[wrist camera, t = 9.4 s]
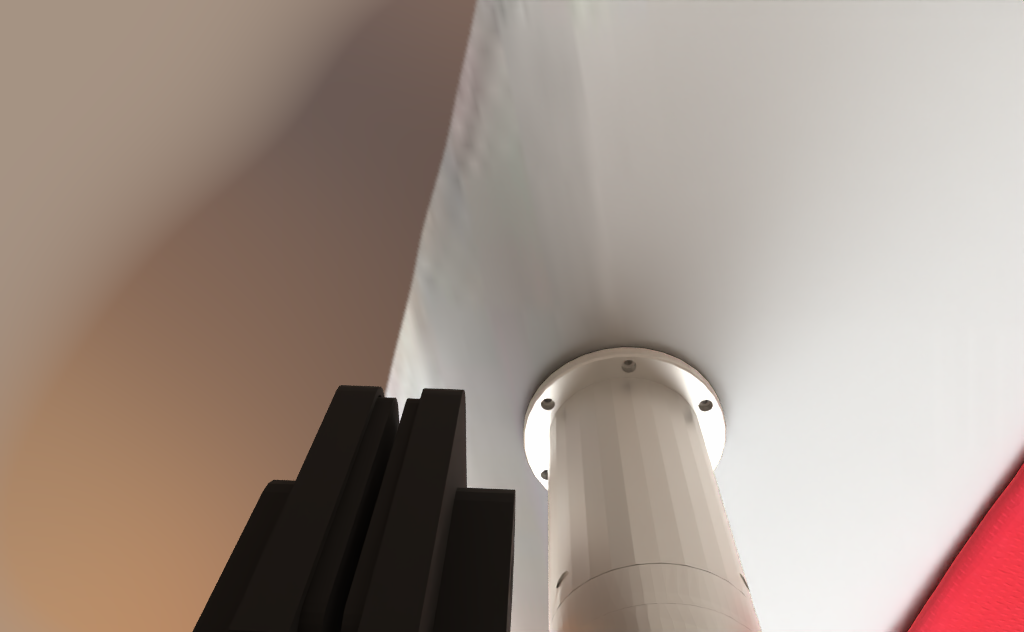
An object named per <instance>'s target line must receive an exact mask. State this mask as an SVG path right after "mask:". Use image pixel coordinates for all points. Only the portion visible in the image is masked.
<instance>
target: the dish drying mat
mask: <svg viewBox="0 0 1024 632" xmlns="http://www.w3.org/2000/svg"><path fill="white" fill-rule="evenodd" d="M908 632H1024V463H1023V465H1022V466H1021V468H1020V469H1019V471H1018V472H1017V474H1016V475H1015V477H1014V478H1013V479H1012V481H1011V482H1010V483H1009V485H1008V486H1007V487H1006V489H1005V490H1004V491H1003V493H1002V494H1001V495H1000V497H999V498H998V499H997V500H996V502H995V503H994V504H993V506H992V507H991V508H990V510H989V511H988V512H987V514H986V515H985V517H984V518H983V520H982V521H981V523H980V524H979V525H978V527H977V528H976V530H975V531H974V533H973V534H972V536H971V537H970V538H969V540H968V541H967V543H966V544H965V545H964V547H963V548H962V550H961V551H960V552H959V554H958V555H957V557H956V558H955V560H954V561H953V563H952V564H951V566H950V567H949V569H948V570H947V572H946V574H945V575H944V577H943V578H942V580H941V581H940V583H939V584H938V586H937V588H936V589H935V591H934V592H933V593H932V595H931V596H930V598H929V599H928V601H927V602H926V604H925V605H924V607H923V608H922V610H921V612H920V613H919V615H918V616H917V618H916V619H915V621H914V622H913V624H912V625H911V627H910V629H909V630H908Z"/></svg>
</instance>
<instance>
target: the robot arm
mask: <svg viewBox="0 0 1024 632" xmlns="http://www.w3.org/2000/svg"><path fill="white" fill-rule="evenodd" d="M627 360H630V361H627ZM547 398H549V399H547ZM523 441H524V451H525V455H526V458H527V462H528V464H529V466H530V468H531V470H532V472H533V474H534V476H535V477H536V478H537V479H538V480H539V482H540V483H541V484H542V485H543V487H544V488H545V489H547V490H548V586H549V632H762V631H761V627H760V624H759V621H758V618H757V615H756V612H755V608H754V605H753V601H752V598H751V594H750V591H749V588H748V584H747V581H746V578H745V574H744V571H743V568H742V564H741V561H740V558H739V554H738V551H737V548H736V544H735V541H734V538H733V534H732V531H731V528H730V524H729V521H728V518H727V514H726V511H725V508H724V504H723V501H722V498H721V494H720V491H719V488H718V484H717V481H716V478H715V474H714V471H715V469H716V467H717V465H718V463H719V461H720V459H721V457H722V454H723V450H724V446H725V443H726V423H725V418H724V413H723V410H722V407H721V404H720V402H719V399H718V397H717V395H716V393H715V391H714V390H713V388H712V387H711V385H710V384H709V382H708V381H707V380H706V379H705V378H704V377H703V376H702V375H701V374H700V373H699V372H698V371H697V370H696V369H694V368H693V367H691V366H690V365H688V364H687V363H685V362H684V361H682V360H681V359H678V358H676V357H673V356H671V355H668V354H666V353H663V352H660V351H655V350H650V349H646V348H632V347H620V348H611V349H603V350H599V351H596V352H592V353H589V354H585V355H583V356H581V357H579V358H576V359H574V360H572V361H570V362H568V363H566V364H565V365H563V366H562V367H561V368H559V369H558V370H556V371H555V372H554V373H552V374H551V375H550V376H549V377H548V378H547V379H546V380H545V381H544V382H543V383H542V384H541V386H540V387H539V388H538V390H537V391H536V393H535V394H534V396H533V398H532V399H531V401H530V403H529V406H528V409H527V412H526V415H525V421H524V430H523ZM514 536H515V490H507V489H483V488H467V469H466V403H465V391H464V390H455V389H428V388H425V389H423V391H422V394H421V398H420V399H410V398H408V399H407V401H406V404H405V407H404V410H403V414H402V417H401V420H400V424H399V412H398V402H397V399H396V398H384V393H383V389H382V388H381V387H374V386H347V385H341V386H339V387H338V389H337V391H336V393H335V395H334V397H333V399H332V402H331V404H330V406H329V408H328V410H327V413H326V415H325V417H324V419H323V422H322V424H321V426H320V428H319V430H318V433H317V435H316V437H315V439H314V441H313V444H312V446H311V448H310V450H309V453H308V455H307V457H306V459H305V461H304V464H303V466H302V468H301V470H300V472H299V474H298V477H297V479H296V481H289V480H273V481H271V482H270V483H268V485H267V486H266V488H265V489H264V491H263V492H262V494H261V496H260V499H259V500H258V502H257V504H256V507H255V508H254V510H253V512H252V514H251V516H250V518H249V520H248V522H247V525H246V526H245V528H244V530H243V532H242V534H241V536H240V538H239V541H238V542H237V545H236V546H235V548H234V550H233V553H232V554H231V556H230V558H229V560H228V562H227V564H226V566H225V568H224V570H223V572H222V574H221V576H220V578H219V580H218V582H217V584H216V586H215V588H214V590H213V592H212V594H211V596H210V598H209V600H208V602H207V604H206V606H205V608H204V610H203V612H202V614H201V616H200V618H199V620H198V622H197V624H196V626H195V628H194V630H193V632H510V626H511V608H512V589H513V566H514Z"/></svg>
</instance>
